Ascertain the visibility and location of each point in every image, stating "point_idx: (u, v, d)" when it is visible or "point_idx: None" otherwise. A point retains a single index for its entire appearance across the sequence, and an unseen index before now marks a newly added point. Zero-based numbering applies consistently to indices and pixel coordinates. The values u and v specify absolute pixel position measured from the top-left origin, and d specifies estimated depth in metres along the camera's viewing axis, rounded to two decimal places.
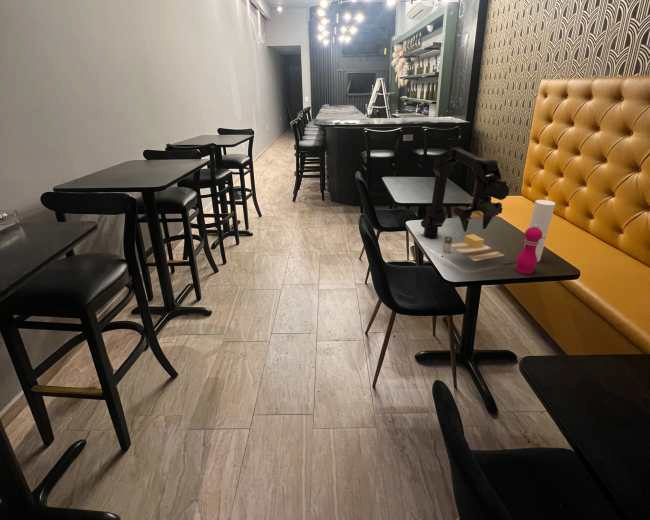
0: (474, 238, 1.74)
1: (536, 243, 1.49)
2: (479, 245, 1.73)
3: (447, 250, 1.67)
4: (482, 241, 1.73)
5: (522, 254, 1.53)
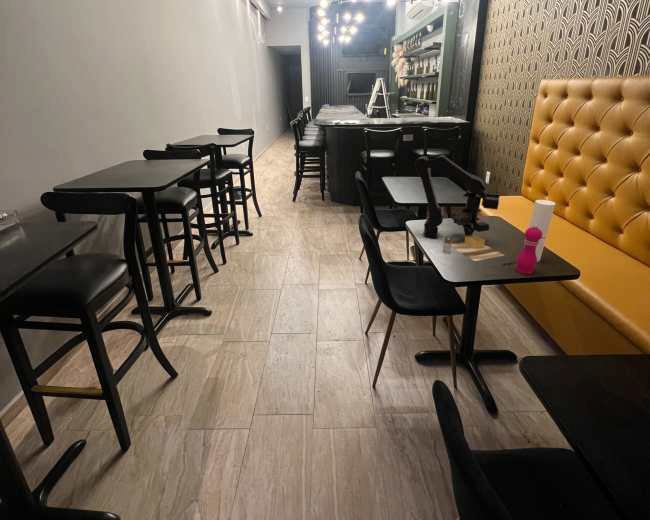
0: (475, 238, 1.74)
1: (536, 243, 1.49)
2: (480, 245, 1.73)
3: (447, 250, 1.67)
4: (483, 241, 1.72)
5: (522, 254, 1.53)
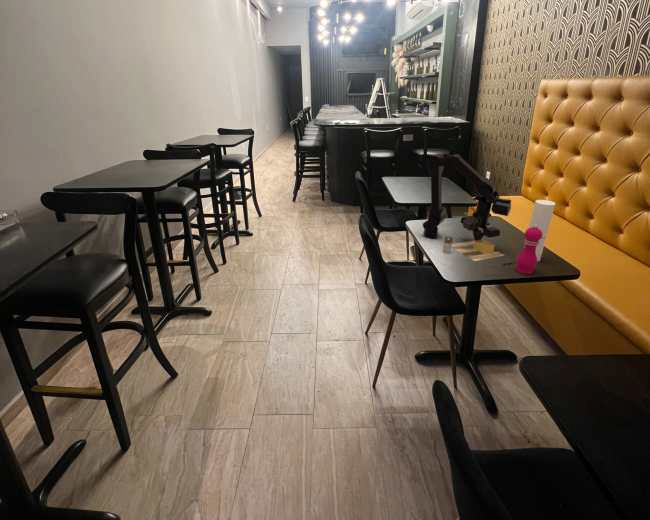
0: (484, 243, 1.69)
1: (536, 243, 1.49)
2: (489, 251, 1.68)
3: (447, 250, 1.67)
4: (492, 247, 1.67)
5: (522, 254, 1.53)
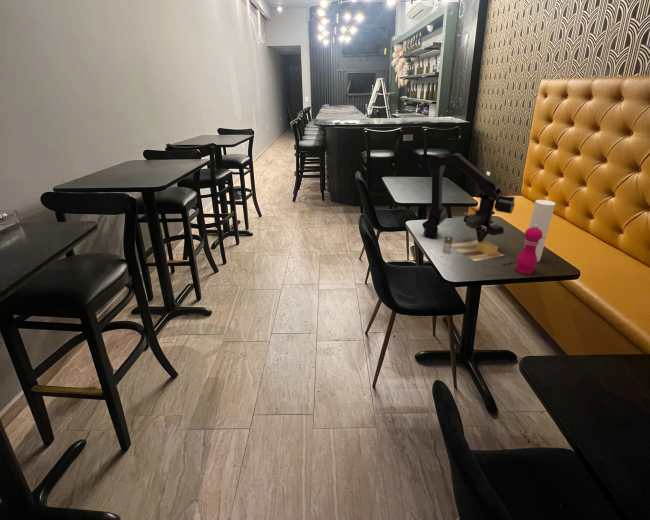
0: (488, 245, 1.67)
1: (536, 243, 1.49)
2: (493, 252, 1.66)
3: (447, 250, 1.67)
4: (496, 248, 1.66)
5: (522, 254, 1.53)
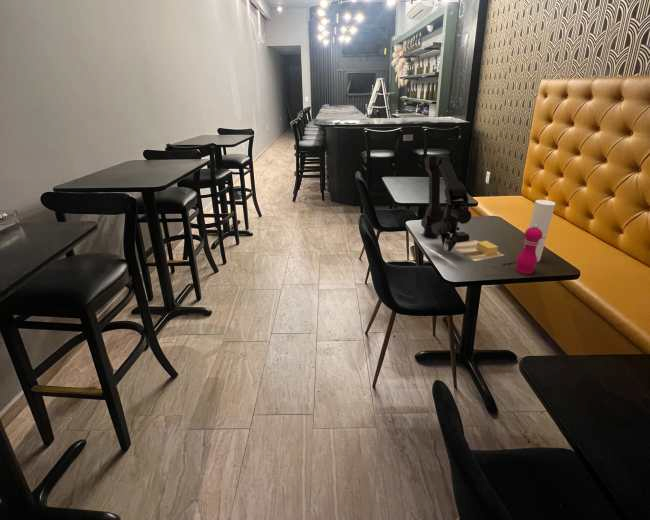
0: (488, 245, 1.67)
1: (536, 243, 1.49)
2: (493, 252, 1.66)
3: (447, 250, 1.67)
4: (496, 248, 1.66)
5: (522, 254, 1.53)
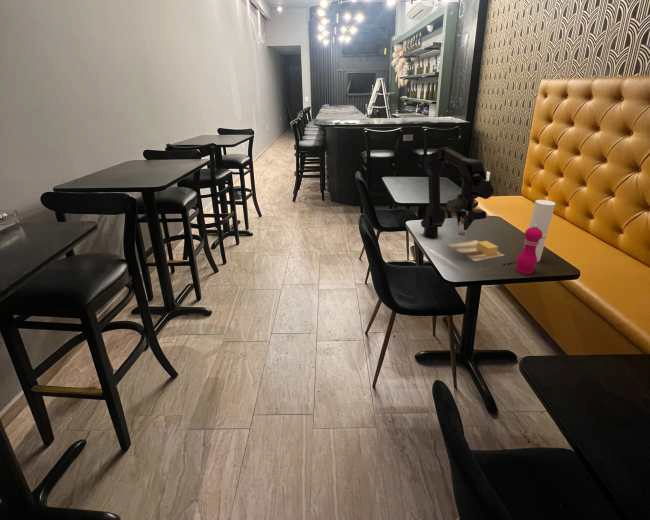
0: (488, 245, 1.67)
1: (536, 243, 1.49)
2: (493, 252, 1.66)
3: (462, 229, 1.62)
4: (496, 248, 1.66)
5: (522, 254, 1.53)
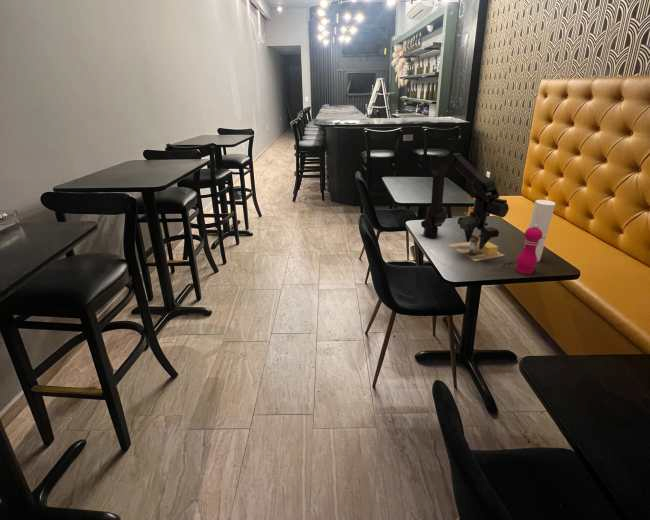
0: (488, 245, 1.67)
1: (536, 243, 1.49)
2: (493, 252, 1.66)
3: (473, 249, 1.65)
4: (496, 248, 1.66)
5: (522, 254, 1.53)
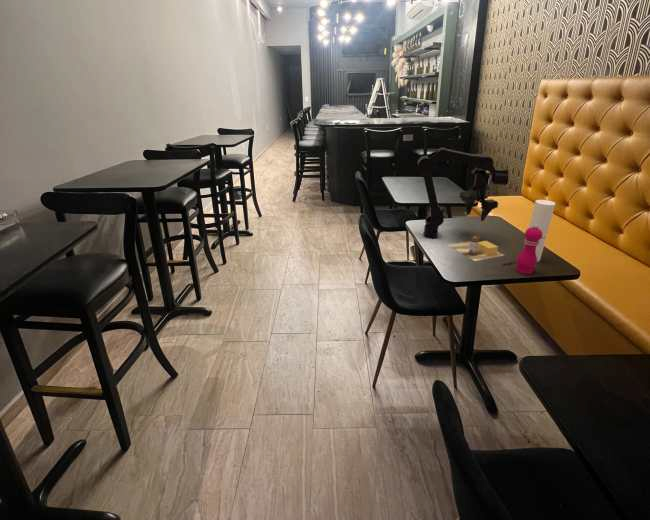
0: (488, 245, 1.67)
1: (536, 243, 1.49)
2: (493, 252, 1.66)
3: (473, 250, 1.65)
4: (496, 248, 1.66)
5: (522, 254, 1.53)
